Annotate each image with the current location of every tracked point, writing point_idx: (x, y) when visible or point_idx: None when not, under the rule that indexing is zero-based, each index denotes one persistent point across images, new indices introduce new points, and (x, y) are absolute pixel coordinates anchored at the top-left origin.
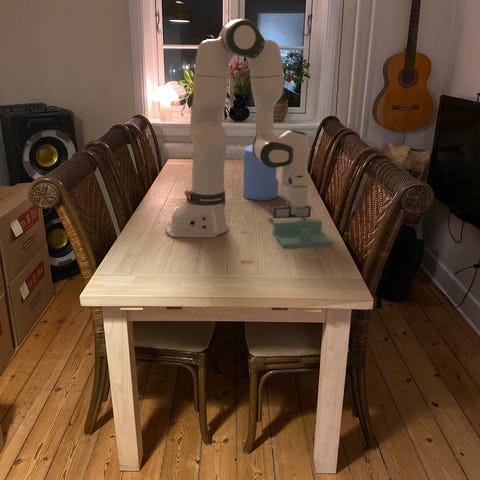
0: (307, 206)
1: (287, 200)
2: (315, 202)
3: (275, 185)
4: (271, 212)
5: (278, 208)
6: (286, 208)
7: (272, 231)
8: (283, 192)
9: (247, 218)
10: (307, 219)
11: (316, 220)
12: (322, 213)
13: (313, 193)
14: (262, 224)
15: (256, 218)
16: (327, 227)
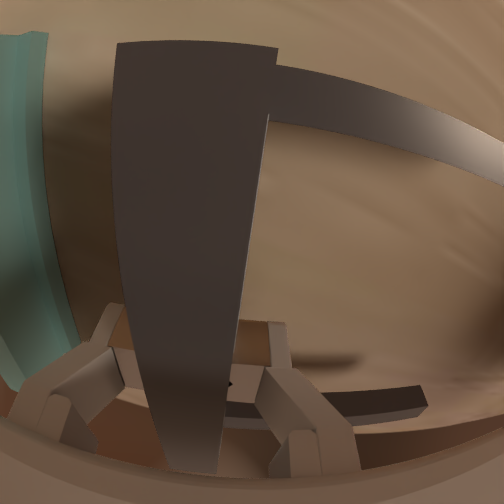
0: (183, 463)
1: (306, 445)
2: (448, 420)
3: None
4: (325, 75)
5: (117, 154)
6: (135, 310)
7: (34, 31)
8: (484, 491)
9: (479, 3)
10: (6, 345)
11: (7, 374)
12: None
13: (494, 415)
14: (313, 7)
15: (469, 56)
16: (141, 395)
